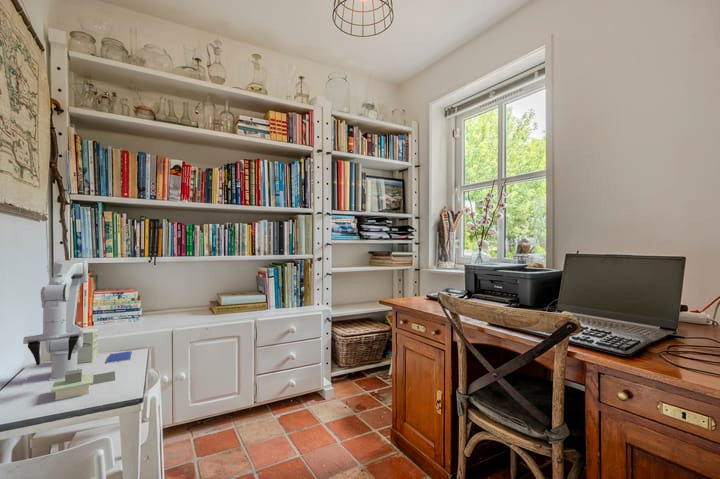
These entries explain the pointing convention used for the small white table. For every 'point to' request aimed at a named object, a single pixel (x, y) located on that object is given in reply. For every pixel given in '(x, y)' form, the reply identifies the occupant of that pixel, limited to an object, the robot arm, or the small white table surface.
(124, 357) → the hard drive
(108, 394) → the small white table surface
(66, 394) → the dish
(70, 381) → the lid
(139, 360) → the small white table surface
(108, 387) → the small white table surface
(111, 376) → the mat
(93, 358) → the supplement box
